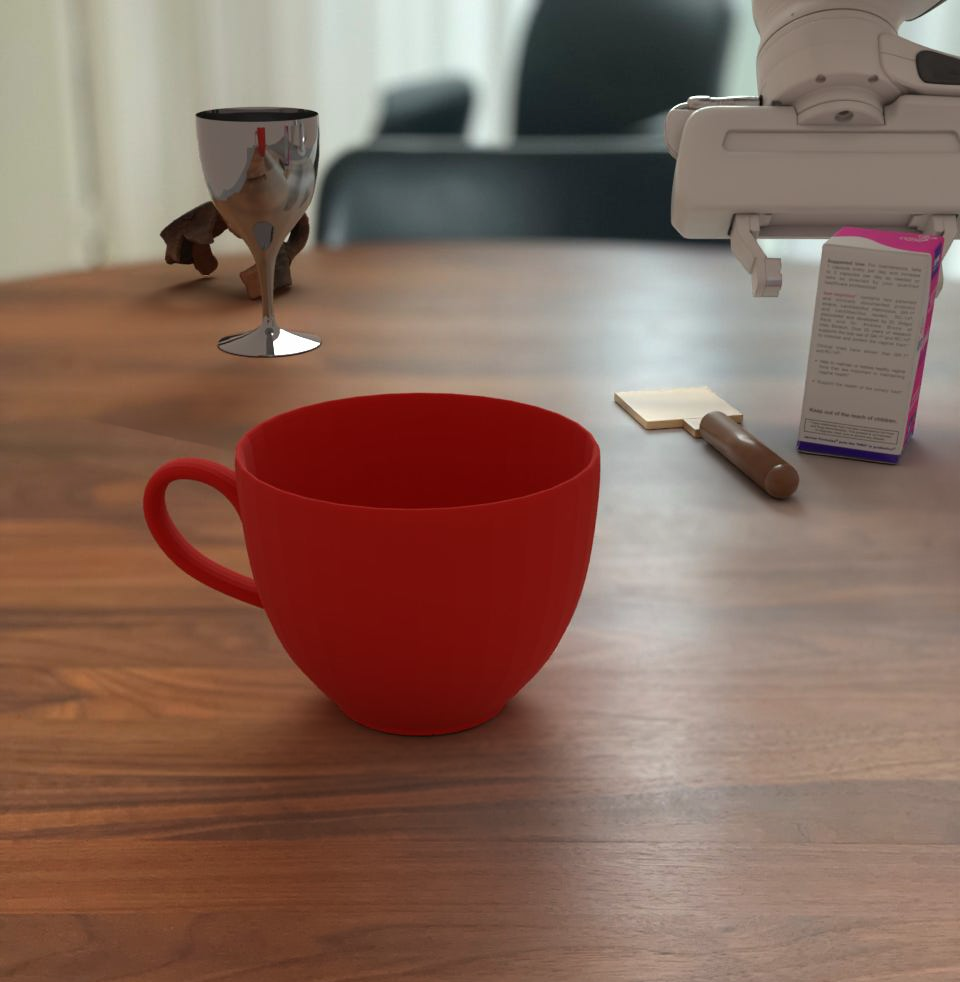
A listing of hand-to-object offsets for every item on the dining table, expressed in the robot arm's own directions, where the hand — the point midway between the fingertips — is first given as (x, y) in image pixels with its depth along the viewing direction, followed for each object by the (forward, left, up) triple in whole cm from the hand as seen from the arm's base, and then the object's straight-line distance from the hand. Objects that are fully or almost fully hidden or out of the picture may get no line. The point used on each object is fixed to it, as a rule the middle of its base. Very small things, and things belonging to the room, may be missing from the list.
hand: (847, 292), depth 88 cm
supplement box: (+2, +7, -7) cm, 10 cm away
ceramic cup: (+34, +30, -7) cm, 46 cm away
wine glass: (+32, -22, -7) cm, 39 cm away
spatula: (+10, +5, -7) cm, 13 cm away
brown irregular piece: (+32, -40, -7) cm, 51 cm away
